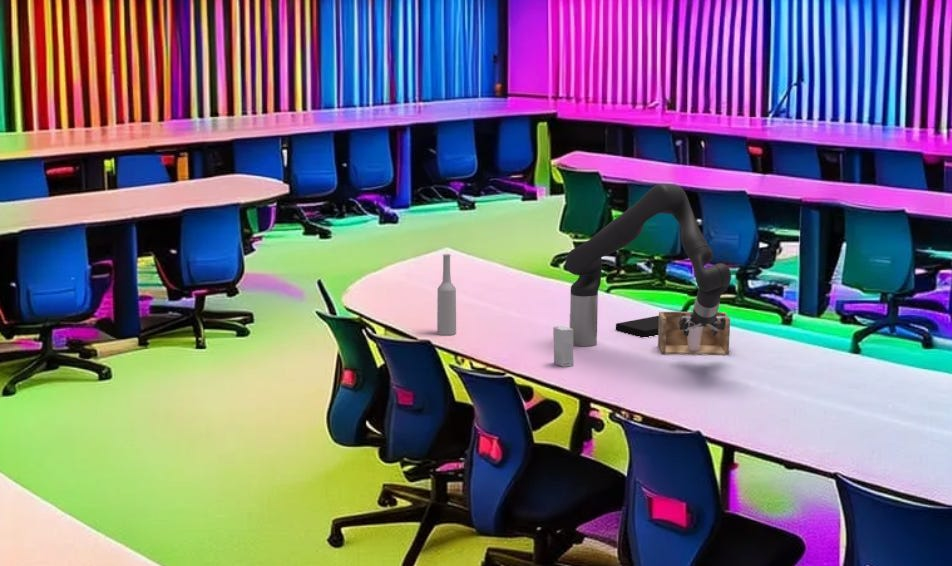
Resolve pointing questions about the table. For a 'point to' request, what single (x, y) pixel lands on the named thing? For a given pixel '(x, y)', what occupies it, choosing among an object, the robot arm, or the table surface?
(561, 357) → the skincare box
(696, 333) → the smoothie
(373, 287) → the table surface
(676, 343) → the shelf bay
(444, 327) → the bottle
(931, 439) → the table surface
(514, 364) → the table surface
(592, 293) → the robot arm
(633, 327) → the external hard drive
